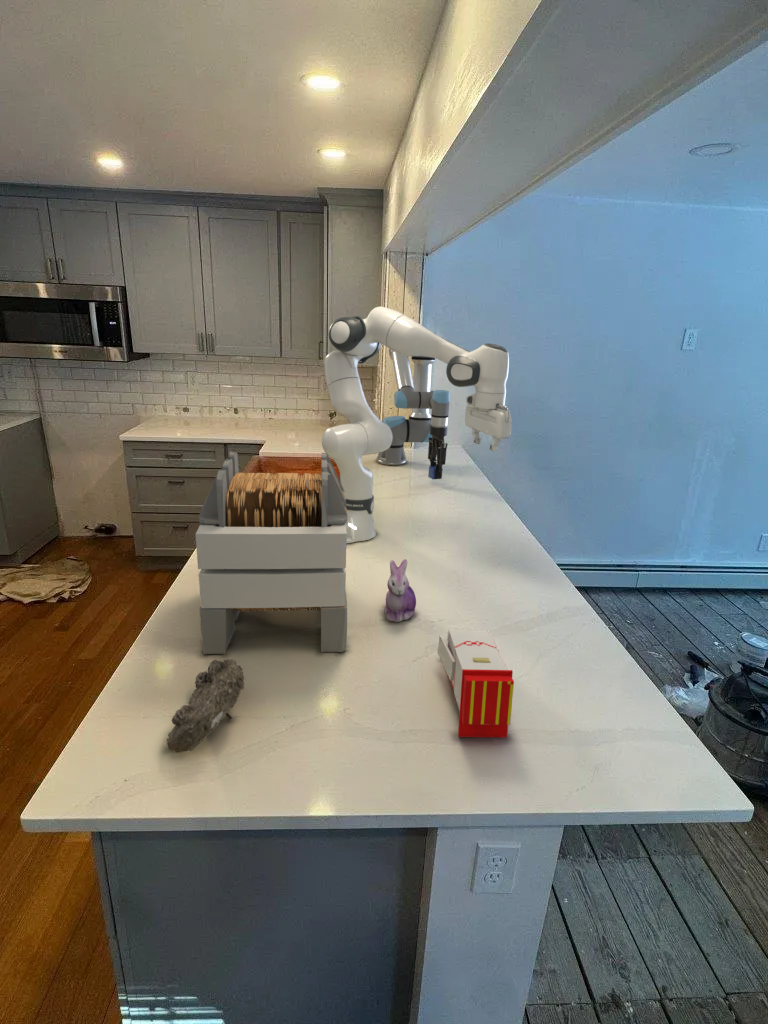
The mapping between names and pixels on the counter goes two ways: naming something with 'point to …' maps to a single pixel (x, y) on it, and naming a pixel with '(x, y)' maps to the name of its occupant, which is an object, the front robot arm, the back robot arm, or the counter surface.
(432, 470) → the brick
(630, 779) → the counter surface
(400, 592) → the figurine
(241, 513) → the transformer
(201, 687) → the fossil
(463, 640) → the toy
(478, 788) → the counter surface
